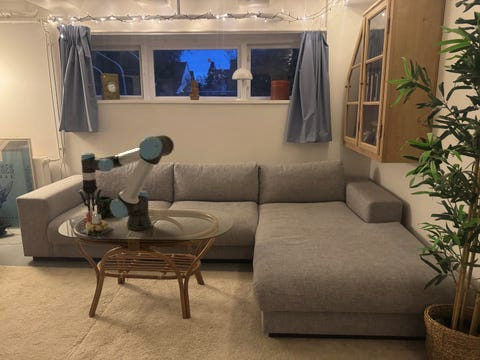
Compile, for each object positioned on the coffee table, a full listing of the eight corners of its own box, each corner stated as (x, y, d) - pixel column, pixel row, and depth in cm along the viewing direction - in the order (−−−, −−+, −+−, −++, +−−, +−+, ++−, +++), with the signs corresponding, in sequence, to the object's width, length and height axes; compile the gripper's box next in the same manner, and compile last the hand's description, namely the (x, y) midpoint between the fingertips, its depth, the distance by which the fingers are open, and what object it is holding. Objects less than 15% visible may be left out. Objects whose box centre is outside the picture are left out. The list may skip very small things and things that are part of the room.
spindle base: (113, 229, 227) (112, 213, 225) (95, 237, 213) (94, 220, 211) (96, 226, 231) (96, 211, 229) (78, 233, 218) (77, 217, 216)
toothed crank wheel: (112, 228, 224) (111, 215, 222) (93, 233, 214) (92, 219, 213) (97, 222, 234) (96, 209, 232) (78, 227, 224) (77, 214, 223)
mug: (115, 212, 261) (115, 196, 258) (106, 219, 246) (106, 201, 244) (100, 212, 261) (100, 195, 259) (91, 218, 247) (90, 201, 245)
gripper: (99, 176, 230) (101, 213, 235) (77, 178, 224) (79, 216, 228) (101, 179, 223) (103, 216, 228) (78, 181, 217) (81, 219, 222)
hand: (91, 216), depth 228 cm, fingers closed
